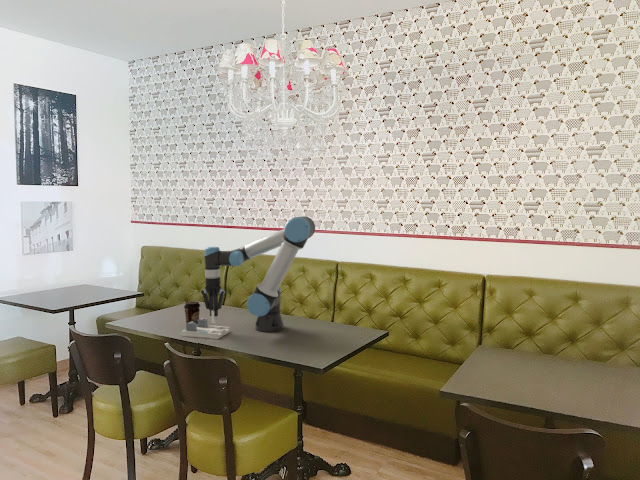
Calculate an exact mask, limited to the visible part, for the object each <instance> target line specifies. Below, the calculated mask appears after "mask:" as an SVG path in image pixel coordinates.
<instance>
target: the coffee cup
mask: <svg viewBox="0 0 640 480" xmlns="http://www.w3.org/2000/svg"><path fill="white" fill-rule="evenodd" d="M200 307H201V304H200V303H199V301H195V300H194V301H186V302H185V304H184V306H183V309H184V312H185V313H184V314H185V324H186V323H188V322H191V321H193V322H194V323H196V324H198V321H197V320H199V319H200V312H201V310H200Z"/></svg>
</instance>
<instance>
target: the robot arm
mask: <svg viewBox="0 0 640 480" xmlns="http://www.w3.org/2000/svg"><path fill="white" fill-rule="evenodd" d="M315 232H316V224H315V221H314V220H313V219H311V218H310V217H309V216H305V215H304V216H295V217H292V218H291V219H289V220H288V221H287V222H286V224H285V226H284V228H283V229H281V230H278V231H276V232H273V233H271V234H269V235H267V236H264V237H262V238H260V239H257V240H254V241H253V242H251V243H249V244H246V245H244V246H241V247H239V248H236V249H233V250H220V247H218V246H207V247H205V248H204V255H203V256H204V257H203V258H204V275H205V276H204V277H205V278H204V282H205V284H204V285H205V287H204V289H203V290H200V293H201V295H202V298H203V301H204V305H205V309H207V310H209V316H210V317H211V324H216V323H218V322H217V321H218V320H217V319H218V316H219V310H221V309H222V306H223V302H224V301H223V300H224V296H225V293H226V290H224V289H222V286H221V267H224V266H225V267H241V266H242V265H243V263H245V262H247V261H248V260H251V259H253V258H255V257H258V256H260V255H263V254H265V253H267V252H270V251H272V250H275V249H277V248H279V249H278V251H277V252H276V254H275V257H274V259H273V260H272V262H271V264H270V267H269V268H268V270H267V273H266V274H265V276H264V278H263V280H262V282H261V283H258V284H257V285H256V287H255V289H254V291H253V292H252V294H251V295H249V297H248V298H247V301H246V308H247V309H248V311H249V313H250V314H251V315H252V316H255V317H256V319H255V320H256V321H255V323H254V327H255V328H254V329H255V330H256V331H258V332H263V333H269V332H270V333H272V332H278V331H279V332H280V331H282V330H283V329H284V327H285V324H284V321H283V318H282V314H281V293H282V291H281V284H282V283H283V280H284V279H285V276H286V275H287V273H288V270H289V269H290V267H291V265H292V263H293V261H294V259H295V258H296V256H297V254H298V252H299V251H300V250H302V249H304V247H305V245H306V243H307V241H308V239H310V238H311V237H313V235H314V234H315Z"/></svg>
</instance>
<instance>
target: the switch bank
mask: <svg viewBox="0 0 640 480" xmlns="http://www.w3.org/2000/svg"><path fill="white" fill-rule="evenodd" d="M196 328H197V331H196V332H195V331H186V328H184V329H183V330H181V333H180V334H181V335H180V336H182V337H191V338H202V339H211V340H218V339H220V338H222V337H224V336H225V335H227V334H229V333H231V326H221V325H211V324H207V328H203V327H198V324H196Z"/></svg>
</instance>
